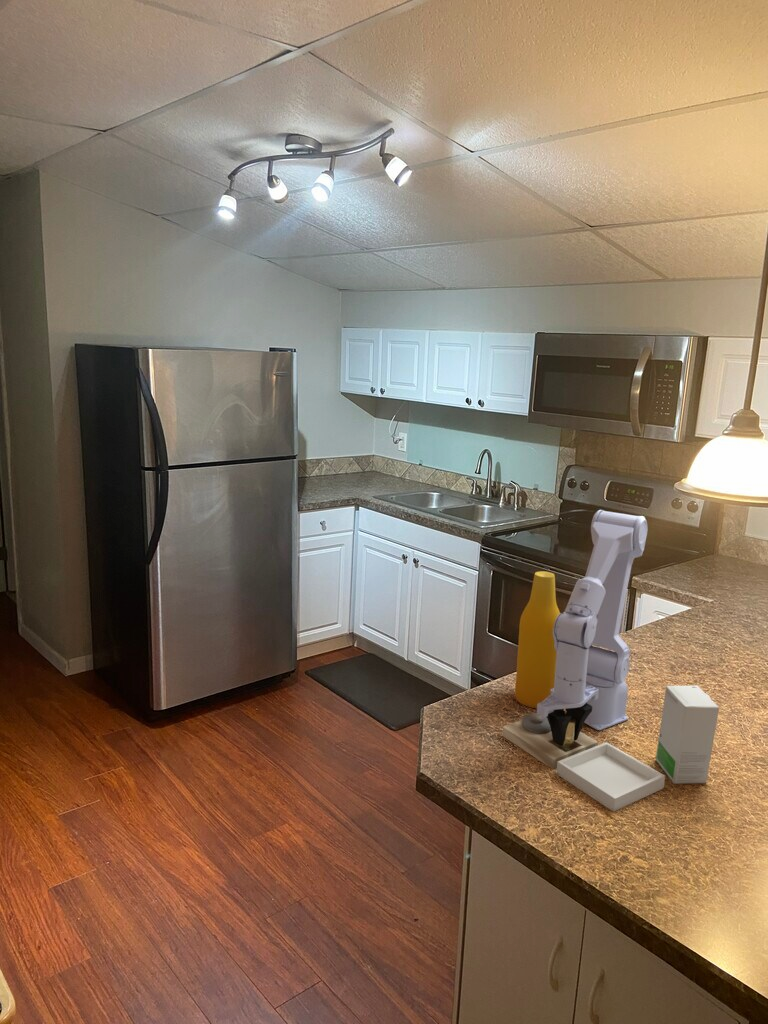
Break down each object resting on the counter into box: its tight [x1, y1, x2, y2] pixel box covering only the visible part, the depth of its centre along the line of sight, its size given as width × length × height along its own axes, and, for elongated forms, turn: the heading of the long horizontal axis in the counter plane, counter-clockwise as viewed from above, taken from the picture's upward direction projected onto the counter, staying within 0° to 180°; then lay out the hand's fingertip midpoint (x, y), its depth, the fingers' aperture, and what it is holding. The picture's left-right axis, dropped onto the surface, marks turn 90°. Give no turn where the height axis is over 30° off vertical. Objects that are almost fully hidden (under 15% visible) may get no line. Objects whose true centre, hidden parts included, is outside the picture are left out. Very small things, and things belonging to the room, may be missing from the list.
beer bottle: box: [514, 570, 561, 709], centre depth 161 cm, size 9×9×29 cm
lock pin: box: [556, 718, 575, 752], centre depth 143 cm, size 3×3×7 cm
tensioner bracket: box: [501, 713, 599, 770], centre depth 146 cm, size 12×14×4 cm
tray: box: [556, 741, 666, 813], centre depth 134 cm, size 13×13×2 cm
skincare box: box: [655, 685, 720, 785], centre depth 136 cm, size 8×7×16 cm
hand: (565, 740), depth 143 cm, fingers closed on lock pin, 3 cm apart
